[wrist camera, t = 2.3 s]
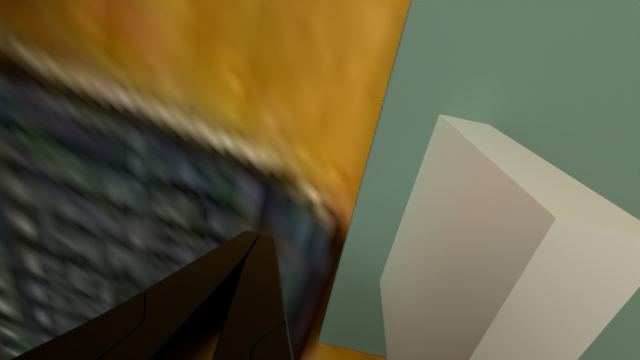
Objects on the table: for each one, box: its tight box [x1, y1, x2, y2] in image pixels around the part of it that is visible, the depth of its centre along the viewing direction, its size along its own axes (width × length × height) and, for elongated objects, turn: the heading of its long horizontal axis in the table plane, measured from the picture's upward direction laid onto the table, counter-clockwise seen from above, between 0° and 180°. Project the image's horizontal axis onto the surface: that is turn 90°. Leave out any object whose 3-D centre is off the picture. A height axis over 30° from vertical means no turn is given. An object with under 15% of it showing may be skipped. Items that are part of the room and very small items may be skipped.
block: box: [380, 114, 640, 360], centre depth 9 cm, size 8×2×7 cm, turn 170°
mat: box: [318, 0, 640, 360], centre depth 13 cm, size 18×16×1 cm
